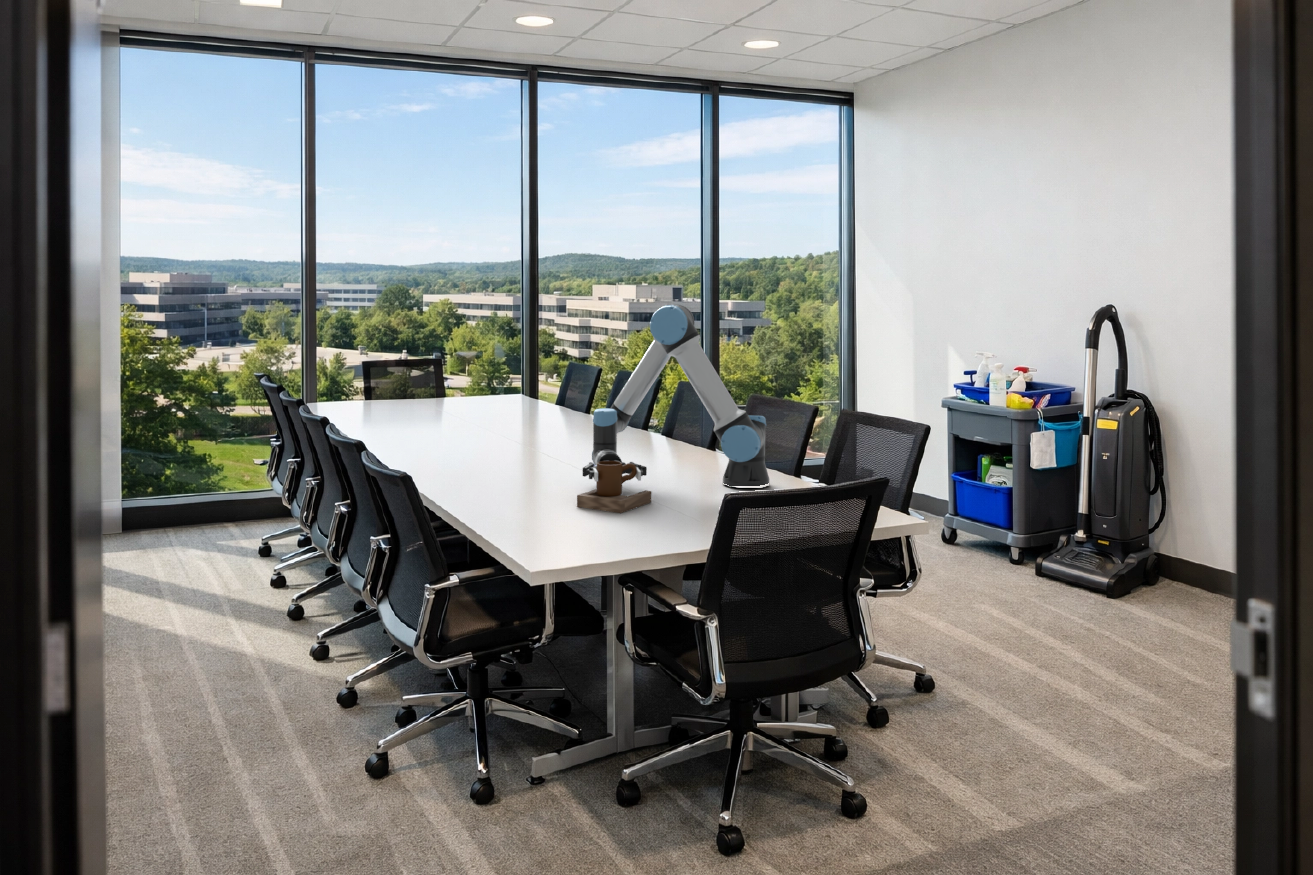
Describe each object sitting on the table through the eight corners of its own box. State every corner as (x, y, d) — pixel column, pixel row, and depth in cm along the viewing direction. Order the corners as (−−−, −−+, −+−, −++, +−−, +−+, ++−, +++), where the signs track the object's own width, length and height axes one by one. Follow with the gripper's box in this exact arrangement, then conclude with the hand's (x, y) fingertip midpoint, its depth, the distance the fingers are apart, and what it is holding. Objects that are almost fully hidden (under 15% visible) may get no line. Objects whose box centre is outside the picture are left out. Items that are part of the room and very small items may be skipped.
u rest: (651, 502, 299) (651, 490, 298) (620, 513, 284) (621, 501, 284) (608, 496, 306) (608, 485, 306) (577, 506, 291) (577, 495, 291)
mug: (634, 491, 300) (634, 460, 299) (639, 496, 293) (639, 464, 292) (594, 492, 298) (594, 460, 297) (598, 497, 291) (598, 465, 289)
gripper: (646, 474, 315) (659, 488, 294) (569, 475, 311) (576, 489, 289) (647, 450, 314) (659, 463, 293) (570, 451, 309) (576, 464, 288)
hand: (618, 476), depth 291 cm, fingers closed on mug, 12 cm apart
